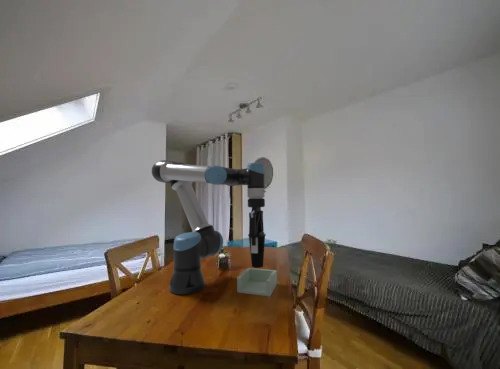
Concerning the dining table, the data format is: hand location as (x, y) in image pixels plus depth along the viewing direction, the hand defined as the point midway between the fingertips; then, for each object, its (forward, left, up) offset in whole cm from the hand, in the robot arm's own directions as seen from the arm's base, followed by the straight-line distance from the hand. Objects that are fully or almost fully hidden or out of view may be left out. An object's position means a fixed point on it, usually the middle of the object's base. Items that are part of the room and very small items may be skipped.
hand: (257, 250), depth 101 cm
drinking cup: (0, 0, -7) cm, 7 cm away
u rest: (0, +1, -16) cm, 16 cm away
